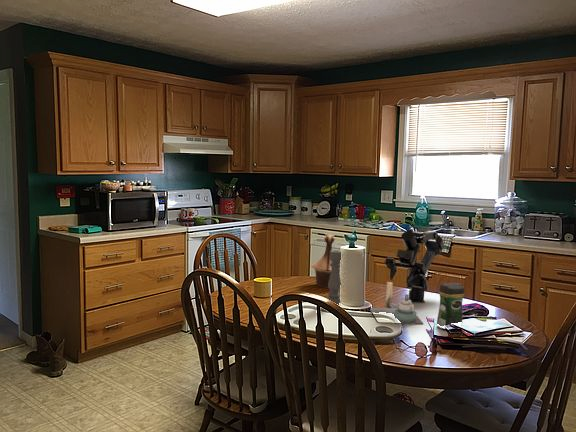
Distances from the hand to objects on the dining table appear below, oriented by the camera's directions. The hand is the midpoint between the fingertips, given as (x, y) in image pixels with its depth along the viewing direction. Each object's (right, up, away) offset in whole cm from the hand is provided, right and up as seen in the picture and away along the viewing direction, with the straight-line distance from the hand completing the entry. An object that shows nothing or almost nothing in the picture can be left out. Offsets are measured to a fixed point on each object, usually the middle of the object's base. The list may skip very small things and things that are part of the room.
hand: (398, 281), depth 222 cm
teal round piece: (0, -15, -14) cm, 20 cm away
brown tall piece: (-30, -8, +40) cm, 51 cm away
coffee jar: (+16, -16, -21) cm, 31 cm away
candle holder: (-29, -12, +6) cm, 32 cm away
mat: (-3, -14, -9) cm, 17 cm away
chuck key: (-2, -11, -11) cm, 16 cm away
